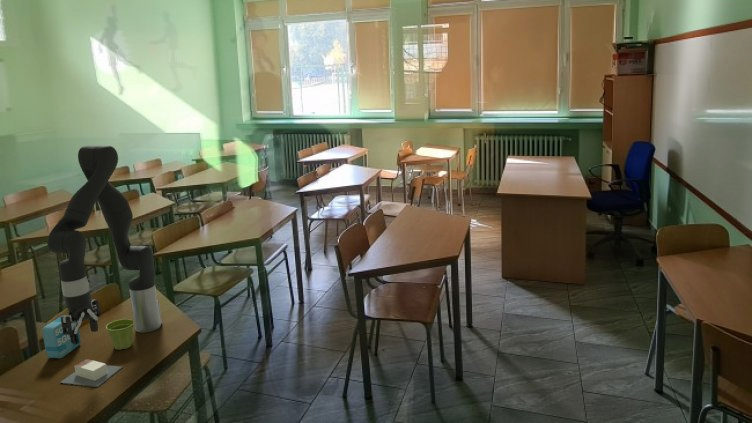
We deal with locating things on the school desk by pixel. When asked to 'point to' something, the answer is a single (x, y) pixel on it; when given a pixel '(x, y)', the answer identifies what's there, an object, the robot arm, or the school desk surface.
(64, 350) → the data package
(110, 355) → the school desk surface
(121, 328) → the plant pot
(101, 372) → the white rectangular block
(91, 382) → the mat
